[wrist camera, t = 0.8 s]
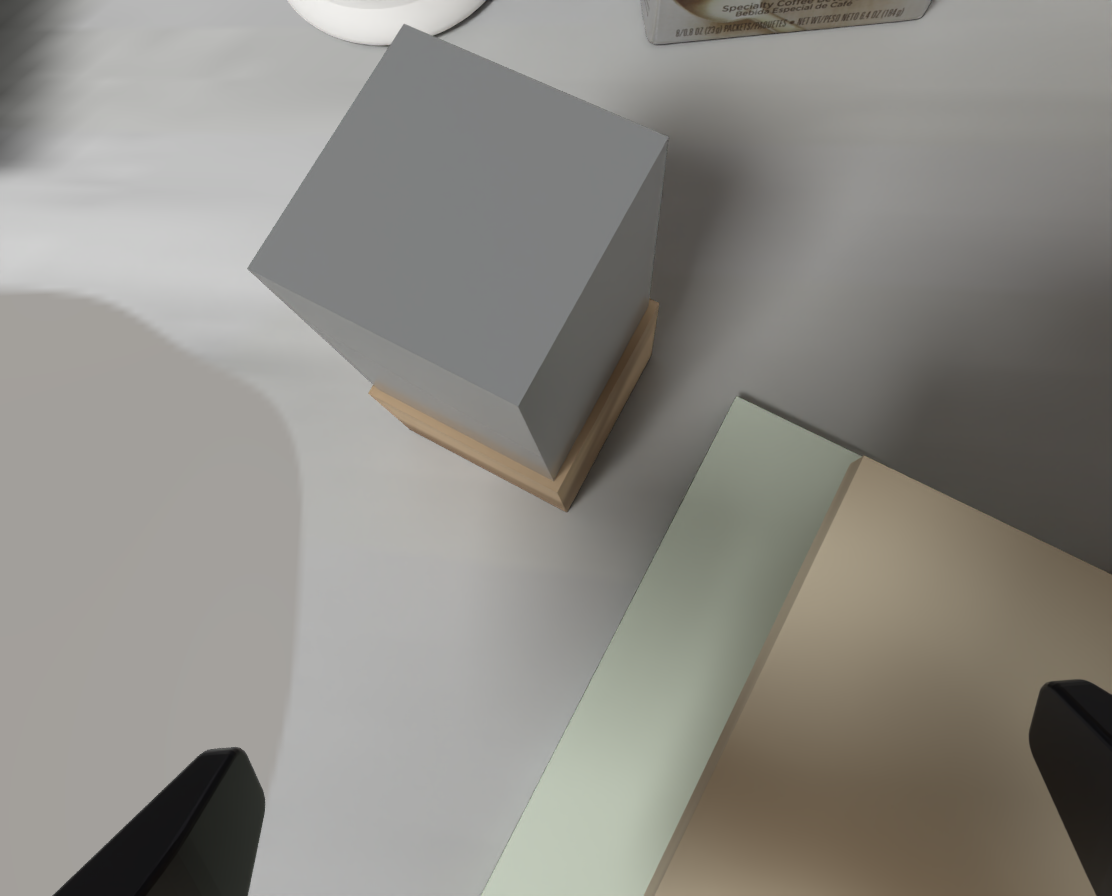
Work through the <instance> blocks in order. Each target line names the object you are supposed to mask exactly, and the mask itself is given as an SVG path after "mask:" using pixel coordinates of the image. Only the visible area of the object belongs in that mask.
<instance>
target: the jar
mask: <svg viewBox="0 0 1112 896" xmlns="http://www.w3.org/2000/svg"><path fill="white" fill-rule="evenodd" d="M287 1H288V2H289V4H290V5H291V6H292V7H293V9H294V10H295V11H296V12H297V13H298V14H299V15H300V16H301V17H302V18H304V19H305V20H306V21H307V22H308V23H310V24H311V25H313V26H314V27H316V28H317V29H319V30H321V31H323V32H325V33H327V34H329V35H331V36H333V37H336V38H339V39H342V40H345V41H349V42H353V43H359V44H367V45H390V44H391V43H392V41H393V40H394V38H395V37H396V35H397V33H398V32H399V30H400V29H401V27H402V26H403V24H406V25H408V26H411V27H413V28H415V29H418V30H420V31H422V32H425V33H427V34H429V35H432V36H433V35H436V34H438V33H441V32H443V31H445V30H447V29H449V28H451V27H453V26H454V25H456V24H458V23H459V22H461V21H462V20H464V19H465V18H467V17H468V16H470V15H471V14H472V13H473V12H474V11H475V10H477V9H478V8H479V7H480V6H481V5H482V4H483V3H484V2H485V1H486V0H287Z"/></svg>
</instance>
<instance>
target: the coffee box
mask: <svg viewBox="0 0 1112 896" xmlns="http://www.w3.org/2000/svg"><path fill="white" fill-rule="evenodd" d="M931 1H932V0H641V7H642V14H643V20H644V25H645V31H646V37H647V39H648V41H649V42H650V43H653V44H656V45H657V44H669V43H679V42H689V41H700V40H710V39H721V38H730V37H741V36H751V35H762V34H772V33H783V32H793V31H803V30H813V29H825V28H835V27H844V26H856V25H867V24H877V23H886V22H895V21H905V20H914V19H918V18H921V17H922V16H923V15H924V13H925V12H926V10H927V8H928V6H929V4H930V2H931Z"/></svg>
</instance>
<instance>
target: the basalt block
mask: <svg viewBox="0 0 1112 896" xmlns="http://www.w3.org/2000/svg"><path fill="white" fill-rule="evenodd" d="M668 139H669V137H668V136H665V135H663V134H661V133H658V132H656V131H654V130H651V129H649V128H647V127H644V126H642V125H640V124H637V123H635V122H633V121H630V120H628V119H626V118H623V117H621V116H619V115H616V114H614V113H612V112H609V111H607V110H605V109H602V108H600V107H598V106H595V105H593V104H591V103H588V102H586V101H584V100H581V99H579V98H577V97H574V96H572V95H570V94H567V93H565V92H563V91H560V90H558V89H556V88H553V87H551V86H549V85H546V84H544V83H542V82H539V81H537V80H535V79H532V78H530V77H528V76H525V75H523V74H521V73H518V72H516V71H514V70H511V69H509V68H507V67H504V66H502V65H500V64H497V63H495V62H493V61H490V60H488V59H486V58H483V57H481V56H478V55H476V54H474V53H471V52H469V51H467V50H464V49H462V48H460V47H457V46H455V45H453V44H450V43H448V42H446V41H443V40H441V39H439V38H436V37H434V36H432V35H429V34H427V33H425V32H422V31H420V30H418V29H415V28H413V27H411V26H408V25H406V24H403V26H402V27H401V29H400V30H399V32H398V33H397V35H396V37H395V38H394V40H393V41H392V43H391V44H390V46H389V48H388V49H387V51H386V52H385V54H384V55H383V57H382V59H381V60H380V62H379V63H378V65H377V66H376V68H375V69H374V71H373V73H372V74H371V76H370V77H369V79H368V80H367V82H366V84H365V85H364V87H363V88H362V90H361V91H360V93H359V94H358V96H357V98H356V99H355V101H354V102H353V104H352V105H351V107H350V109H349V110H348V112H347V113H346V115H345V116H344V118H343V120H342V121H341V123H340V124H339V126H338V127H337V129H336V130H335V132H334V134H333V135H332V137H331V138H330V140H329V141H328V143H327V145H326V146H325V148H324V149H323V151H322V152H321V154H320V155H319V157H318V159H317V160H316V162H315V163H314V165H313V166H312V168H311V170H310V171H309V173H308V174H307V176H306V177H305V179H304V181H303V182H302V184H301V185H300V187H299V188H298V190H297V191H296V193H295V195H294V196H293V198H292V199H291V201H290V202H289V204H288V206H287V207H286V209H285V210H284V212H283V213H282V215H281V216H280V218H279V220H278V221H277V223H276V224H275V226H274V227H273V229H272V231H271V232H270V234H269V235H268V237H267V238H266V240H265V242H264V243H263V245H262V246H261V248H260V249H259V251H258V252H257V254H256V256H255V257H254V259H253V260H252V262H251V263H250V265H249V267H248V268H247V269H248V270H249V271H250V272H251V273H252V274H254V275H255V276H256V277H257V278H258V279H259V280H260V281H261V282H262V283H263V284H264V285H265V286H267V287H268V288H269V289H270V290H271V291H272V292H273V293H274V294H275V295H276V296H277V297H279V298H280V299H281V300H282V301H283V302H284V303H285V304H286V305H287V306H288V307H289V308H290V309H292V310H293V311H294V312H295V313H296V314H297V315H298V316H299V317H300V318H301V319H302V320H304V321H305V322H306V323H307V324H308V325H309V326H310V327H311V328H312V329H313V330H314V331H315V332H317V333H318V334H319V335H320V336H321V337H322V338H323V339H324V340H325V341H326V342H327V343H329V344H330V345H331V346H332V347H333V348H334V349H335V350H336V351H337V352H338V353H339V354H340V355H342V356H343V357H344V358H345V359H346V360H347V361H348V362H349V363H350V364H351V365H352V366H353V367H355V368H356V369H357V370H358V371H359V372H360V373H361V374H362V375H363V376H364V377H365V378H367V379H368V380H369V381H370V382H371V383H372V384H373V385H374V386H375V387H376V388H377V389H378V390H380V391H382V392H384V393H386V394H388V395H389V396H391V397H393V398H395V399H397V400H399V401H401V402H403V403H405V404H407V405H409V406H411V407H412V408H414V409H416V410H418V411H420V412H422V413H424V414H426V415H428V416H430V417H432V418H433V419H435V420H437V421H439V422H441V423H443V424H445V425H447V426H449V427H451V428H453V429H454V430H456V431H458V432H460V433H462V434H464V435H466V436H468V437H470V438H472V439H474V440H476V441H477V442H479V443H481V444H483V445H485V446H487V447H489V448H491V449H493V450H495V451H497V452H498V453H500V454H502V455H504V456H506V457H508V458H510V459H512V460H514V461H516V462H518V463H519V464H521V465H523V466H525V467H527V468H529V469H531V470H533V471H535V472H537V473H539V474H540V475H542V476H544V477H546V478H548V479H550V480H552V481H554V480H555V478H556V476H557V474H558V473H559V471H560V469H561V467H562V465H563V463H564V461H565V460H566V458H567V456H568V454H569V452H570V450H571V449H572V447H573V445H574V443H575V441H576V439H577V437H578V436H579V434H580V432H581V430H582V428H583V426H584V425H585V423H586V421H587V419H588V417H589V415H590V414H591V412H592V410H593V408H594V406H595V404H596V402H597V401H598V399H599V397H600V395H601V393H602V391H603V390H604V388H605V386H606V384H607V382H608V380H609V378H610V377H611V375H612V373H613V371H614V369H615V367H616V366H617V364H618V362H619V360H620V358H621V356H622V354H623V353H624V351H625V349H626V347H627V345H628V343H629V342H630V340H631V338H632V336H633V334H634V332H635V330H636V329H637V327H638V325H639V323H640V321H641V319H642V318H643V316H644V314H645V312H646V310H647V308H648V306H649V298H650V290H651V281H652V273H653V265H654V256H655V248H656V239H657V231H658V223H659V214H660V206H661V198H662V189H663V181H664V172H665V164H666V156H667V147H668Z"/></svg>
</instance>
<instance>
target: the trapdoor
mask: <svg viewBox="0 0 1112 896" xmlns="http://www.w3.org/2000/svg"><path fill="white" fill-rule="evenodd" d="M1071 679H1082V680H1086V681H1089V682H1091V683H1093V684H1095V685H1097V686H1099V687H1100V688H1102V689H1104V690H1105V691H1107V692H1108V693H1110V694H1112V574H1110V573H1108V572H1105V571H1103V570H1101V569H1099V568H1097V567H1095V566H1093V565H1091V564H1089V563H1087V562H1085V561H1083V560H1081V559H1078V558H1076V557H1074V556H1072V555H1070V554H1068V553H1066V552H1064V551H1062V550H1060V549H1058V548H1056V547H1053V546H1051V545H1049V544H1047V543H1045V542H1043V541H1041V540H1039V539H1037V538H1035V537H1033V536H1031V535H1029V534H1026V533H1024V532H1022V531H1020V530H1018V529H1016V528H1014V527H1012V526H1010V525H1008V524H1006V523H1004V522H1001V521H999V520H997V519H995V518H993V517H991V516H989V515H987V514H985V513H983V512H981V511H979V510H977V509H974V508H972V507H970V506H968V505H966V504H964V503H962V502H960V501H958V500H956V499H954V498H952V497H949V496H947V495H945V494H943V493H941V492H939V491H937V490H935V489H933V488H931V487H929V486H927V485H925V484H922V483H920V482H918V481H916V480H914V479H912V478H910V477H908V476H906V475H904V474H902V473H900V472H897V471H895V470H893V469H891V468H889V467H887V466H885V465H883V464H881V463H879V462H877V461H875V460H873V459H870V458H868V457H866V456H862V457H861V458H859V459H857V460H856V461H854V462H852V463H851V464H850V465H849V467H848V469H847V471H846V474H845V476H844V478H843V480H842V482H841V484H840V486H839V488H838V490H837V492H836V494H835V497H834V499H833V501H832V503H831V505H830V507H829V509H828V511H827V513H826V515H825V517H824V520H823V522H822V524H821V526H820V528H819V530H818V532H817V534H816V536H815V538H814V540H813V543H812V545H811V547H810V549H809V551H808V553H807V555H806V557H805V559H804V561H803V563H802V566H801V568H800V570H799V572H798V574H797V576H796V578H795V580H794V582H793V584H792V586H791V589H790V591H789V593H788V595H787V597H786V599H785V601H784V603H783V605H782V607H781V609H780V611H779V614H778V616H777V618H776V620H775V622H774V624H773V626H772V628H771V630H770V632H769V634H768V637H767V639H766V641H765V643H764V645H763V647H762V649H761V651H760V653H759V655H758V657H757V660H756V662H755V664H754V666H753V668H752V670H751V672H750V674H749V676H748V678H747V680H746V683H745V685H744V687H743V689H742V691H741V693H740V695H739V697H738V699H737V701H736V703H735V706H734V708H733V710H732V712H731V714H730V716H729V718H728V720H727V722H726V724H725V726H724V729H723V731H722V733H721V735H720V737H719V739H718V741H717V743H716V745H715V747H714V749H713V752H712V754H711V756H710V758H709V760H708V762H707V764H706V766H705V768H704V770H703V772H702V775H701V777H700V779H699V781H698V783H697V785H696V787H695V789H694V791H693V793H692V795H691V797H690V800H689V802H688V804H687V806H686V808H685V810H684V812H683V814H682V816H681V818H680V820H679V823H678V825H677V827H676V829H675V831H674V833H673V835H672V837H671V839H670V841H669V843H668V846H667V848H666V850H665V852H664V854H663V856H662V858H661V860H660V862H659V864H658V866H657V869H656V871H655V873H654V875H653V877H652V879H651V881H650V883H649V885H648V887H647V889H646V892H645V894H644V896H1096V894H1095V892H1094V890H1093V888H1092V886H1091V884H1090V882H1089V879H1088V877H1087V875H1086V873H1085V871H1084V869H1083V867H1082V864H1081V862H1080V860H1079V858H1078V856H1077V853H1076V851H1075V849H1074V847H1073V844H1072V842H1071V840H1070V838H1069V836H1068V833H1067V831H1066V829H1065V827H1064V824H1063V822H1062V820H1061V818H1060V816H1059V813H1058V811H1057V809H1056V807H1055V805H1054V802H1053V800H1052V798H1051V796H1050V793H1049V791H1048V789H1047V787H1046V785H1045V782H1044V780H1043V778H1042V776H1041V773H1040V771H1039V769H1038V767H1037V765H1036V762H1035V760H1034V758H1033V755H1032V753H1031V749H1030V745H1029V729H1030V725H1031V721H1032V717H1033V714H1034V710H1035V706H1036V702H1037V699H1038V695H1039V691H1040V689H1041V687H1042V686H1043V685H1044V684H1045V683H1046V682H1050V681H1059V680H1071Z"/></svg>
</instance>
